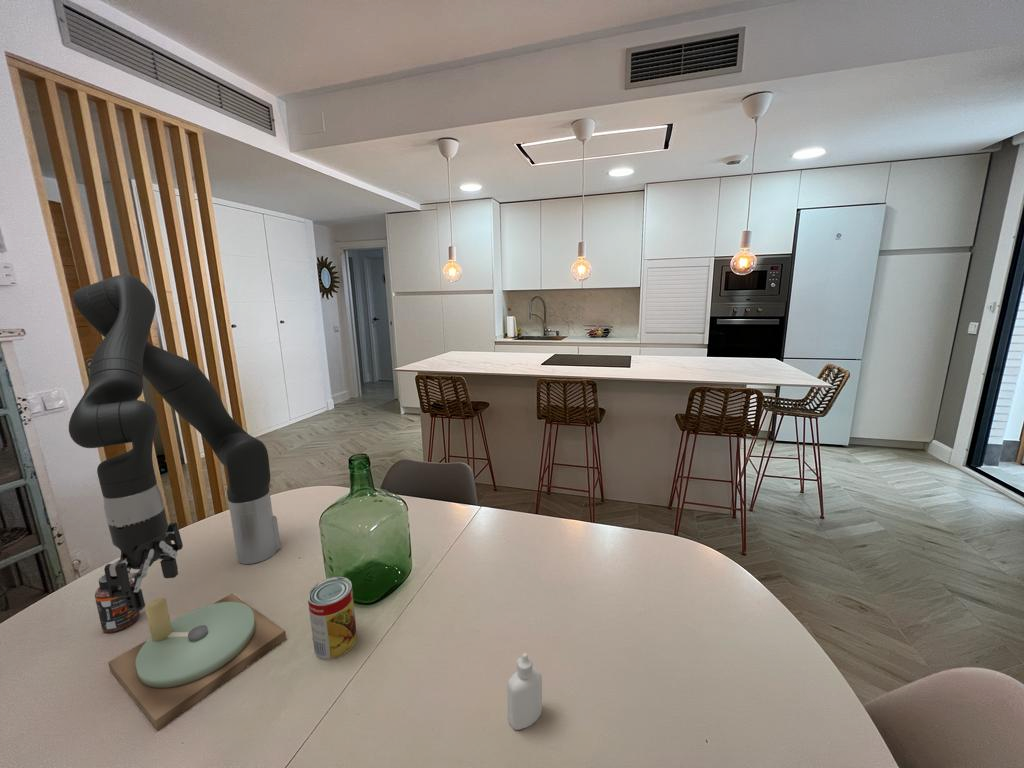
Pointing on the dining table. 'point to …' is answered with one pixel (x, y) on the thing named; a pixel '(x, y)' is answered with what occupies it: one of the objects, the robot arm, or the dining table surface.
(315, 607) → the canned food
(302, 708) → the dining table surface
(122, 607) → the supplement bottle
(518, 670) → the eye dropper bottle
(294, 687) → the dining table surface
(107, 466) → the robot arm
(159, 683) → the dial
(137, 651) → the base board
